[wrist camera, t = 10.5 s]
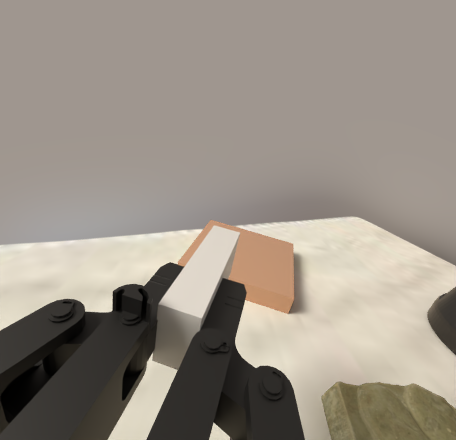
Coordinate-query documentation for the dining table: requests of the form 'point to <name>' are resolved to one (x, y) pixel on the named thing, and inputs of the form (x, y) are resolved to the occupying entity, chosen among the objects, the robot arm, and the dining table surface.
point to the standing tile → (258, 267)
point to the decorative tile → (387, 413)
